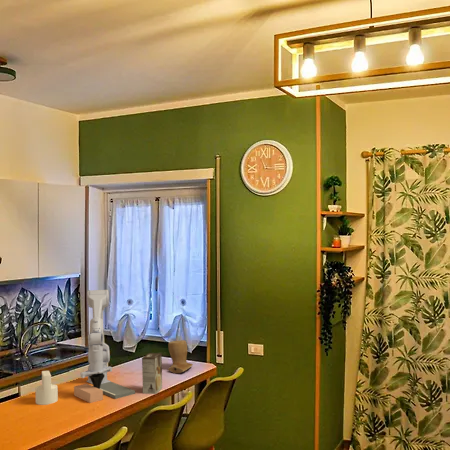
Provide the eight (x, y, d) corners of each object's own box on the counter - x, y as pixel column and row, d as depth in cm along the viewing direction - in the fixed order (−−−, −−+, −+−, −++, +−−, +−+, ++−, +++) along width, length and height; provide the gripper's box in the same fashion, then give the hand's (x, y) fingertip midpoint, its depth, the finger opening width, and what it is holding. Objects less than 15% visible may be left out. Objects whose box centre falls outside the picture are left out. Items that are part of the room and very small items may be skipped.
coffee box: (149, 387, 251) (148, 352, 251) (162, 388, 250) (162, 353, 250) (142, 393, 242) (141, 357, 242) (156, 394, 241) (155, 358, 241)
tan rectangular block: (74, 395, 240) (74, 386, 240) (86, 392, 245) (86, 383, 245) (90, 403, 230) (90, 393, 230) (102, 399, 234) (102, 390, 234)
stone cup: (174, 365, 289) (174, 337, 289) (195, 367, 286) (194, 338, 285) (161, 373, 275) (161, 343, 275) (183, 375, 271) (183, 344, 271)
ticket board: (91, 389, 250) (91, 385, 250) (111, 384, 257) (110, 381, 257) (115, 399, 235) (115, 395, 235) (135, 394, 242) (135, 390, 242)
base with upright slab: (34, 399, 236) (34, 372, 236) (56, 396, 240) (56, 369, 240) (36, 406, 228) (36, 377, 228) (59, 403, 232) (58, 374, 232)
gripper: (86, 364, 232) (86, 396, 232) (115, 358, 242) (116, 389, 242) (77, 361, 237) (78, 393, 237) (107, 355, 247) (107, 385, 247)
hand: (96, 390), depth 240 cm, fingers closed
